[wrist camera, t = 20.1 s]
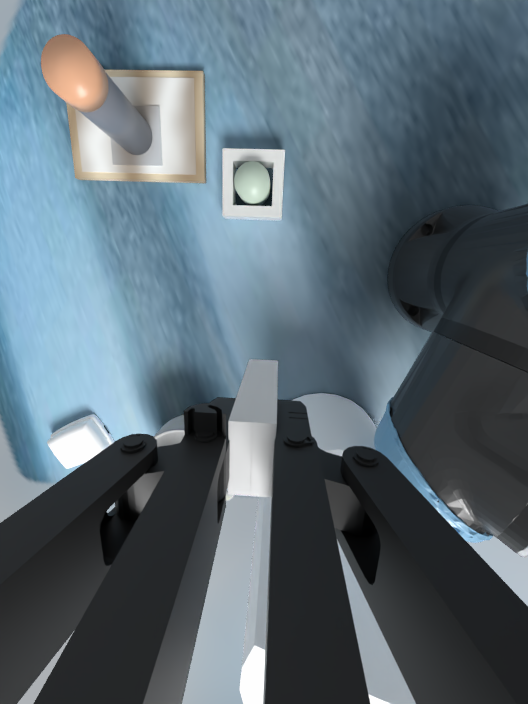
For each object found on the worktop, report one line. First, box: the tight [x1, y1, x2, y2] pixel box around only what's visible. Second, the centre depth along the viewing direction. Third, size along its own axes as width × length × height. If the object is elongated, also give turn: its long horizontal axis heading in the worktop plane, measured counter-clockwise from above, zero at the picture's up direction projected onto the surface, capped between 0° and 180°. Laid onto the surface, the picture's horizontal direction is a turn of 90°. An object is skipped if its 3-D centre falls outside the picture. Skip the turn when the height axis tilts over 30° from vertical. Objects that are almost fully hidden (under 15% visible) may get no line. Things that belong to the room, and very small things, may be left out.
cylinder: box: [240, 393, 416, 704], centre depth 33 cm, size 17×17×28 cm
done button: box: [234, 161, 271, 206], centre depth 35 cm, size 4×4×3 cm
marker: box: [41, 34, 152, 155], centre depth 29 cm, size 4×4×12 cm
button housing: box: [223, 148, 285, 221], centre depth 36 cm, size 7×7×2 cm
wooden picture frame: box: [66, 70, 206, 183], centre depth 36 cm, size 16×11×1 cm
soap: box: [47, 414, 115, 469], centre depth 47 cm, size 9×7×3 cm
